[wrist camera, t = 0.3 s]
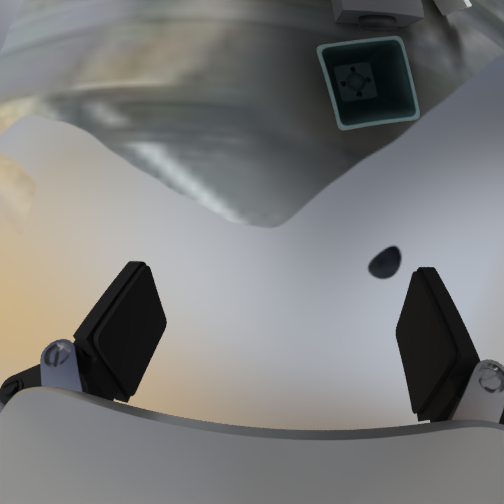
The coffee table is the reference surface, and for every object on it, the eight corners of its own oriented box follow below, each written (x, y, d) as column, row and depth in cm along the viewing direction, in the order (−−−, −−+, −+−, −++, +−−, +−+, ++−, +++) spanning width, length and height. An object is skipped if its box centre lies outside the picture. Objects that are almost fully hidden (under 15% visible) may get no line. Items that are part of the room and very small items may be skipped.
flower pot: (329, 121, 34) (339, 132, 26) (310, 55, 30) (314, 45, 22) (395, 111, 31) (421, 119, 24) (378, 45, 27) (401, 35, 20)
